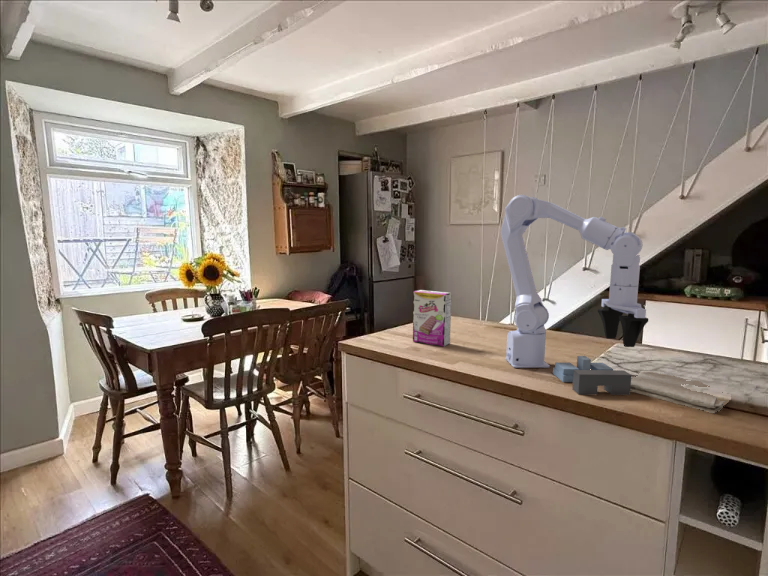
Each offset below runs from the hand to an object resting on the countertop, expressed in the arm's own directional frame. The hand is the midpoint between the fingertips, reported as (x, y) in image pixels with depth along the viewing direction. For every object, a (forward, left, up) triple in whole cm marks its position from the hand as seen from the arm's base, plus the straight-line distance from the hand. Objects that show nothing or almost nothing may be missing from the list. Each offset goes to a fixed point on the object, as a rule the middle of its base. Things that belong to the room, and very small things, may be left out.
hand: (619, 342), depth 99 cm
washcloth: (+7, -9, -10) cm, 15 cm away
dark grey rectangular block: (-8, -8, -9) cm, 15 cm away
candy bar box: (-41, +33, -9) cm, 53 cm away
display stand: (-8, +1, -9) cm, 12 cm away
